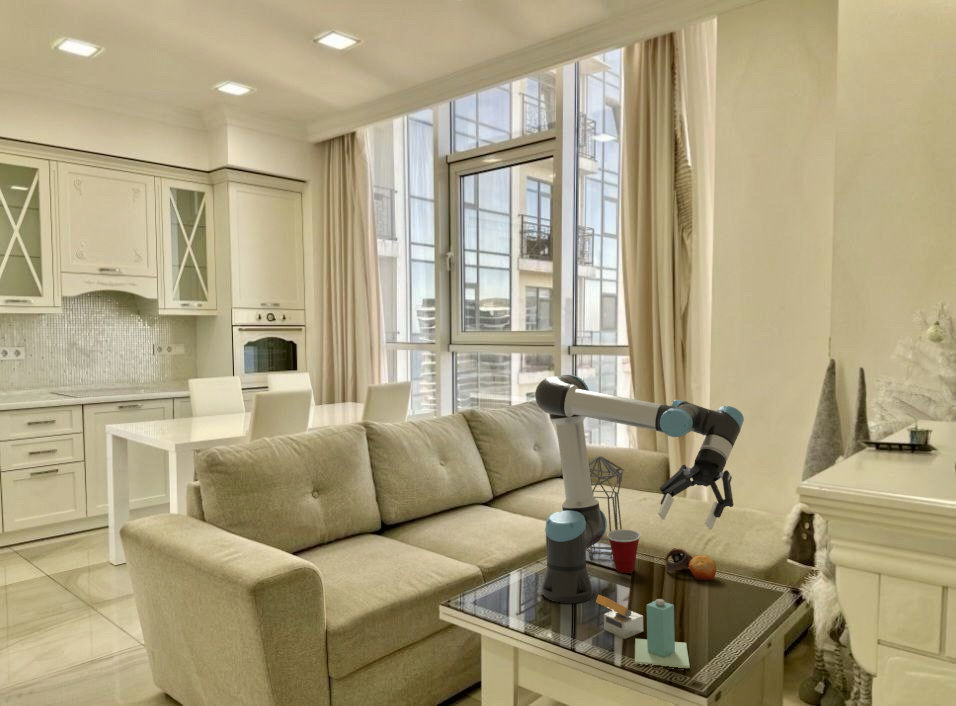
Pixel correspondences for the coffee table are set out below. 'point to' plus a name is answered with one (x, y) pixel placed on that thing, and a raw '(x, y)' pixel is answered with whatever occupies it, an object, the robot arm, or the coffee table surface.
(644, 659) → the pad
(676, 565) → the pottery mug
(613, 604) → the lever
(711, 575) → the fruit
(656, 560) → the coffee table surface
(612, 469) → the geometric lantern
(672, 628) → the teal tall block
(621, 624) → the box
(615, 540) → the plastic cup
